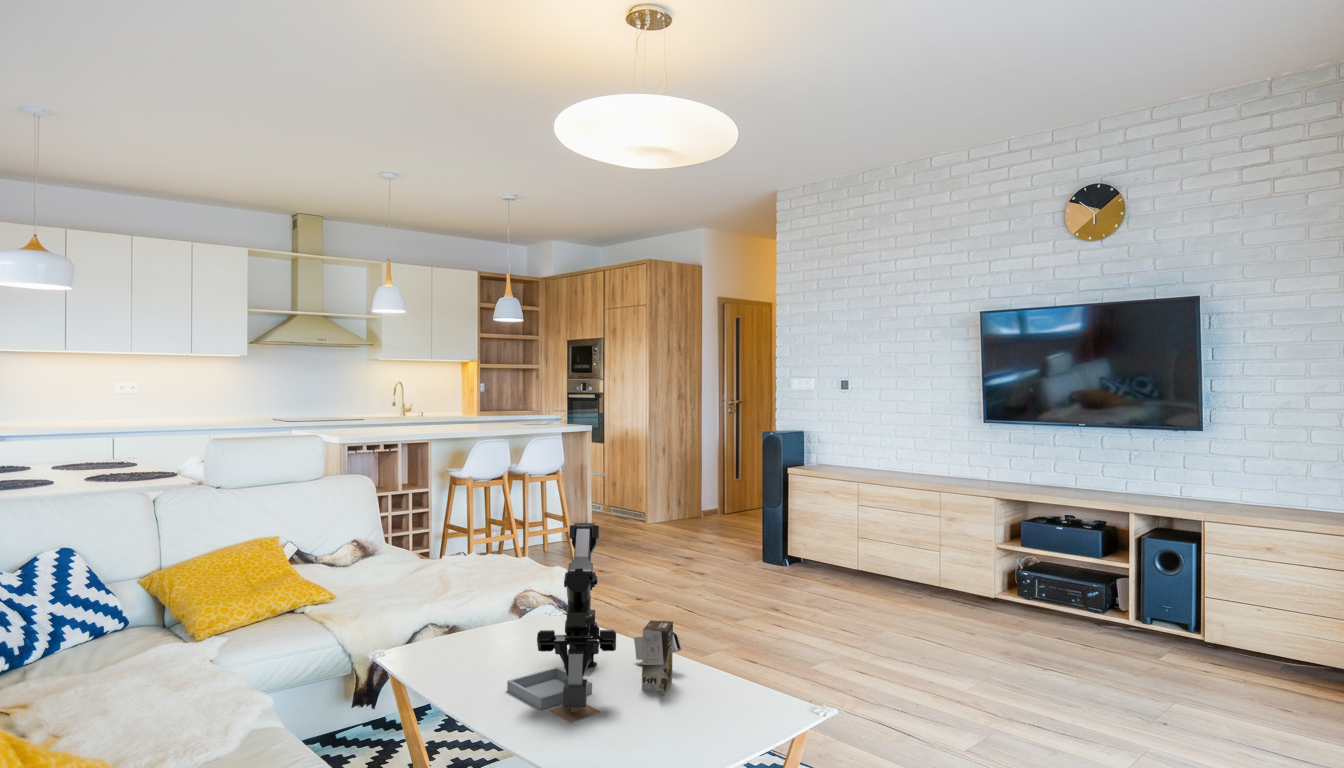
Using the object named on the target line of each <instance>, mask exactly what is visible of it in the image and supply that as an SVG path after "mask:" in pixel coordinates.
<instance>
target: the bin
mask: <svg viewBox="0 0 1344 768" xmlns="http://www.w3.org/2000/svg"><path fill="white" fill-rule="evenodd" d="M565 679H568V676H567V674H566V671H565V669H563V668H561V667H559V666H556V667H555V666H554V667H553V668H549V669H545V670H541V671H537V672H534V673H529V674H527V675H523V676H520V677H515V678H513V679H509V680H507V684H506V685H507V686H506V690H507V692H508V693H510V694H512V695H514V696H516V697H517V698H519V699H520V700H523V701H524V702H526V703H529V704H530V705H532V706H534V707H535V708H537V709H538V710H544V709H547V708H551V707H554V706H558V705H560V704H563V691H564V683H565ZM592 691H593V683H592V682H591V681H589V680H587V696H589V695H592V694H593V692H592Z"/></svg>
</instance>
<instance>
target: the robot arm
mask: <svg viewBox="0 0 1344 768" xmlns="http://www.w3.org/2000/svg"><path fill="white" fill-rule="evenodd" d="M568 535H569V536H568V537H569V540H571V545H572V548H573V549H574V553H573V560H571V561H570V562H569V564H568V567H567V568H568V569H567V571H565V575H564V579H563V580H564V581H563V587H564V588H566V596H567V605H566V607H567V608H566V619H565V622H564V623H565V624H564V634H556V633H555V630H553V629H551V630H550V629H547V630H544V629H542V630H539V631H538V632H537V637H536V642H537V645H536V646H537V651H539V652H541V653H543V652H553V651H554V652H555V653H554V654H555V655H558V656H560V659H561V661H562V663H563V666H564V670H565V671H566V674H567V676H568V674H569V673H568V669H569V650H574V649H583V667H582V676H583V677H584V676H585V674H586V671H587V669H588V668H591V667H594V666H597V665H598V663H597V662H595V660H594V659H595V655H598V654H600V652H599V651H600V650H601V651H602V652H614V651H616V650H617V632H616V630H614V629H600V627H599V625H598V622H596V609H591V605H592V604H591V601H592V597H591V591H593V588H595V587H596V586H598V575H597V574H596V572H595V571H594V569H593V568H594V565H593V563H592V554H593V552H594V550H595V549H596V547H597V541H598V540H599V539H600V526H599V525H596V522H574V524H571V525H569V534H568ZM568 646H569V648H568Z"/></svg>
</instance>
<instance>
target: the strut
mask: <svg viewBox="0 0 1344 768" xmlns="http://www.w3.org/2000/svg"><path fill="white" fill-rule="evenodd" d="M582 667H583V649H574V650H569V669H568V673H569V674H568V679H565V683H564V691H563V703H562V706H563V708H586V704H587V701H588V700H587V699H588V695H587V681H588V679H587V678H584V676H582Z"/></svg>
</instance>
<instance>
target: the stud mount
mask: <svg viewBox="0 0 1344 768" xmlns="http://www.w3.org/2000/svg"><path fill="white" fill-rule="evenodd" d="M547 711H548V712H550V713H552V714H554V715H555V716H558V717H559V718H561V719H562V720H565V721H567V723H568V722H569V723H571V724H573V723H575V722H577V721H580V720H583V719H585V718H589V717H591V716H594V715H598V714H600V713H602V711H601V710H599V709H597V708H595V707H593V706H591V705H589V704H587V703H586V708H563V705H560V706H557V707H555V708H551V709H548V710H547Z"/></svg>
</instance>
